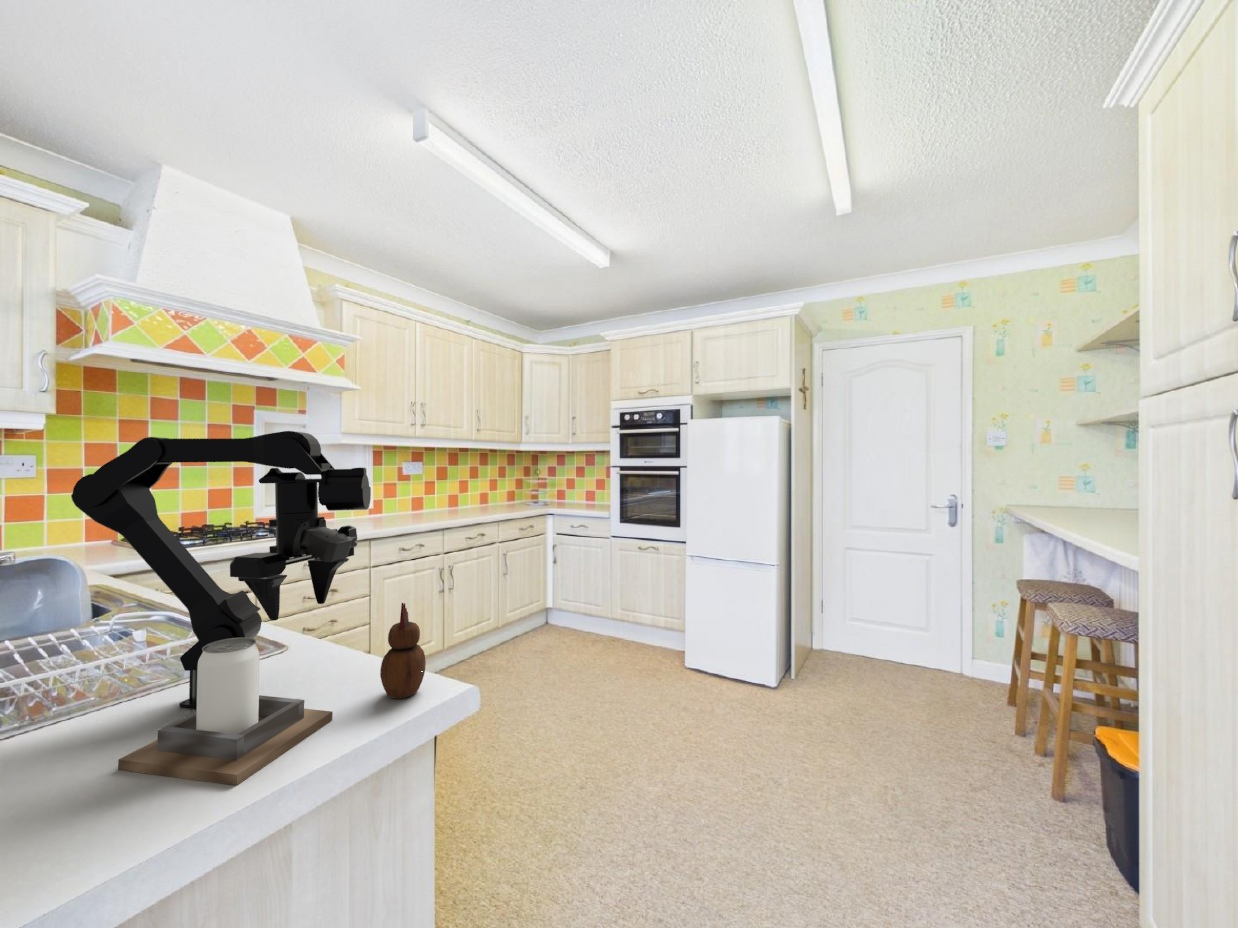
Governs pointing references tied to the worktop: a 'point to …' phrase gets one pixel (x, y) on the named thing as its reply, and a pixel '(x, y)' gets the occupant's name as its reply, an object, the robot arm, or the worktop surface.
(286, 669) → the worktop surface
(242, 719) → the can
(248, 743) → the holder
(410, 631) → the wooden figurine
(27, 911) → the worktop surface
